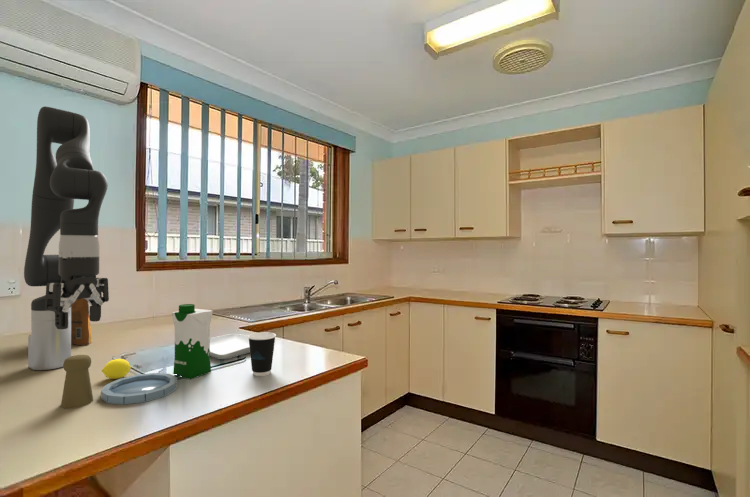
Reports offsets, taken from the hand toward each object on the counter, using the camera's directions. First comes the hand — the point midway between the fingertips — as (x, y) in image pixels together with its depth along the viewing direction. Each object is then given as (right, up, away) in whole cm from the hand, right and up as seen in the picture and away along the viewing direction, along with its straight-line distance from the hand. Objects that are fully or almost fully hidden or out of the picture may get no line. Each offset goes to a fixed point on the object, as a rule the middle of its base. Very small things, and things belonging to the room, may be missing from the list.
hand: (79, 324), depth 90 cm
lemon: (-2, -18, +16) cm, 25 cm away
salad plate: (+18, -18, +45) cm, 52 cm away
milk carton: (+17, -18, +21) cm, 32 cm away
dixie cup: (+36, -19, +22) cm, 46 cm away
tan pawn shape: (0, -18, 0) cm, 18 cm away
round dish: (+10, -18, +8) cm, 22 cm away
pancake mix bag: (-42, -17, +53) cm, 70 cm away
